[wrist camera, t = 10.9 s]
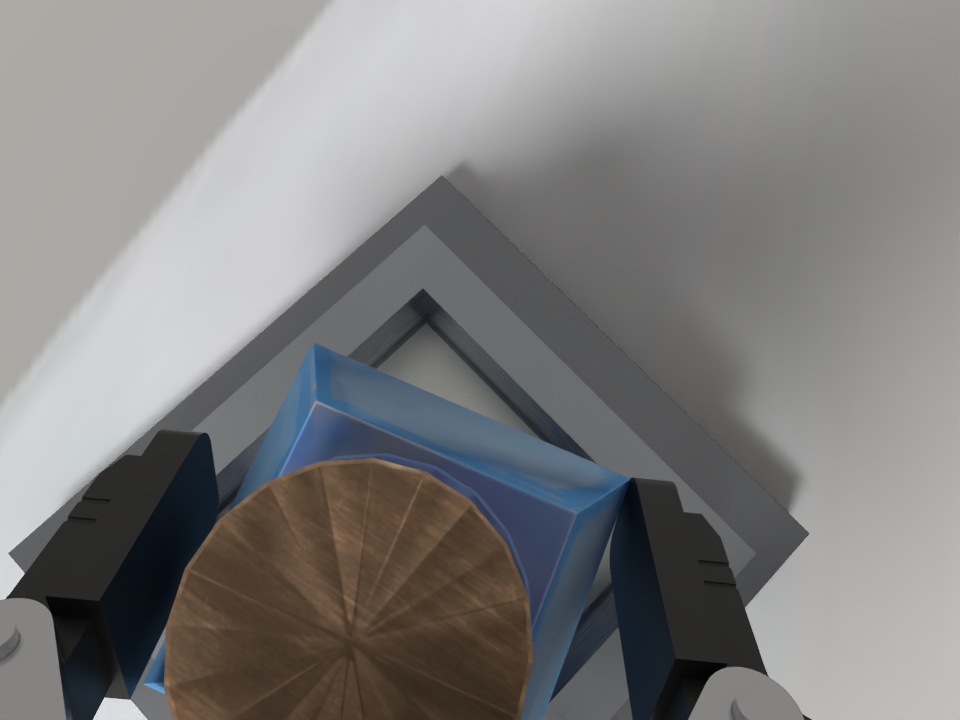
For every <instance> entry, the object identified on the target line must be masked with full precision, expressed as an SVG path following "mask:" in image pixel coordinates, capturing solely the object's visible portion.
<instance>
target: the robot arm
mask: <svg viewBox="0 0 960 720" xmlns="http://www.w3.org/2000/svg"><path fill="white" fill-rule="evenodd" d="M218 506H219V493H218V486H217V479H216V473H215V466H214V459H213V452H212V445H211V440H210V437H209V435H208V434H207V433H205V432H195V431H185V430H175V429H165V428H164V429H161V430H160V431H158V432H157V434H156V435H155V436H154V438H153V439H152V441H151V442H150V444H149V445H148V447H147V448H146V450H145V451H144V452H143V454H142V455H141V456H138V455H128V454H126V455H125V456H123V457H122V458H121V459H119V460H118V461H116V462H115V463H114V464H112V465H111V466H109V467H108V468H106V469H105V470H104V471H102V472H101V473H99V475H98V476H97V477H96V479H95V480H94V481H93V483H92V484H91V485H90V487H89V488H88V489H87V491H86V492H85V494H84V495H83V496H82V501H81V502H78V503H77V504H76V506H75V507H74V508H73V510H72V511H71V512H70V514H69V515H68V519H67V521H64V522H63V523H62V525H61V526H60V527H59V529H58V530H57V531H56V533H55V534H54V535H53V537H52V538H51V539H50V541H49V542H48V543H47V545H46V546H45V547H44V549H43V550H42V551H41V553H40V554H39V556H38V557H37V558H36V560H35V561H34V562H33V564H32V565H31V566H30V568H29V569H28V570H27V572H26V573H25V574H24V576H23V577H22V578H21V580H20V581H19V583H18V584H17V585H16V587H15V588H14V589H13V591H12V592H11V593H10V594H9V596H8V597H7V598H6V599H5V600H0V720H93V718H94V716H95V714H96V712H97V710H98V708H99V706H100V704H101V703H102V701H103V699H104V697H107V698H118V699H129V700H130V699H131V697H132V694H133V692H134V690H135V688H136V686H137V684H138V682H139V680H140V678H141V676H142V674H143V672H144V670H145V668H146V666H147V664H148V662H149V660H150V658H151V655H152V653H153V651H154V649H155V647H156V645H157V643H158V641H159V639H160V637H161V635H162V633H163V631H164V629H165V627H166V624H167V621H168V618H169V615H170V612H171V609H172V606H173V603H174V600H175V597H176V594H177V591H178V588H179V585H180V582H181V579H182V576H183V573H184V570H185V568H186V566H187V565H188V563H189V562H190V561H191V559H192V558H193V556H194V555H195V553H196V552H197V551H198V549H199V548H200V546H201V545H202V543H203V542H204V541H205V539H206V538H207V536H208V535H209V533H210V532H211V530H212V529H213V528H214V525H215V522H216V518H217V513H218ZM610 573H611V580H612V586H613V593H614V600H615V606H616V613H617V619H618V626H619V633H620V639H621V646H622V653H623V659H624V666H625V672H626V679H627V686H628V692H629V699H630V706H631V712H632V719H633V720H811V719H810V718H808V717H806V716H805V715H803V714H802V712H801V711H800V709H799V707H798V705H797V704H796V702H795V701H794V700H793V698H792V697H791V696H790V695H789V693H788V692H787V691H786V690H785V689H784V688H783V687H781V686H780V685H779V684H778V683H777V682H775V681H774V680H772V679H771V678H770V677H769V676H768V674H767V672H766V669H765V667H764V664H763V661H762V658H761V655H760V652H759V649H758V646H757V643H756V640H755V637H754V634H753V631H752V628H751V626H750V623H749V620H748V617H747V614H746V611H745V608H744V605H743V602H742V599H741V596H740V593H739V590H738V589H736V581H735V578H734V575H733V572H732V569H731V568H729V561H728V558H727V555H726V552H725V549H724V546H723V543H722V540H721V537H720V536H719V535H718V533H717V532H716V531H715V530H714V529H713V527H712V526H711V525H710V524H709V522H708V521H707V520H706V519H705V518H704V516H703V515H702V514H698V513H688V512H684V511H683V508H682V504H681V501H680V497H679V494H678V490H677V487H676V485H675V483H674V482H672V481H663V480H653V479H643V478H634V477H632V478H630V481H629V485H628V489H627V492H626V495H625V497H624V500H623V503H622V506H621V508H620V511H619V514H618V517H617V521H616V524H615V527H614V531H613V534H612V539H611V545H610Z"/></svg>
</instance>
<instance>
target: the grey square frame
mask: <svg viewBox="0 0 960 720" xmlns="http://www.w3.org/2000/svg"><path fill="white" fill-rule="evenodd" d="M313 342H314V343H316V344H319V345H321V346H323V347H325V348H328V349H330V350H332V351H335V352H337V353H339V354H342V355H344V356H346V357H349V358H351V359H353V360H356V361H358V362H360V363H363V364H365V365H367V366H370V367H372V368H374V369H377V370H379V371H381V372H384V373H386V374H388V375H391V376H393V377H395V378H398V379H400V380H402V381H405V382H407V383H409V384H412V385H414V386H416V387H419V388H421V389H423V390H426V391H428V392H430V393H433V394H435V395H437V396H440V397H442V398H444V399H447V400H449V401H451V402H454V403H456V404H458V405H461V406H463V407H465V408H468V409H470V410H472V411H475V412H477V413H479V414H482V415H484V416H486V417H489V418H491V419H493V420H495V421H498V422H500V423H502V424H505V425H507V426H509V427H512V428H514V429H516V430H519V431H521V432H523V433H526V434H528V435H530V436H533V437H535V438H537V439H540V440H542V441H544V442H547V443H549V444H551V445H554V446H556V447H558V448H561V449H563V450H565V451H568V452H570V453H572V454H575V455H577V456H579V457H582V458H584V459H586V460H589V461H591V462H593V463H596V464H598V465H600V466H603V467H605V468H607V469H610V470H612V471H614V472H617V473H619V474H621V475H624V476H626V477H628V478H632V477H634V478H643V479H653V480H663V481H672V482H674V483H675V485H676V487H677V490H678V494H679V497H680V501H681V504H682V508H683V511H684V512H688V513H698V514H702V515H703V516H704V518H705V519H706V520H707V521H708V522H709V524H710V525H711V526H712V527H713V529H714V530H715V531H716V532H717V533H718V535H719V536H720V537H721V540H722V543H723V546H724V549H725V552H726V555H727V558H728V561H729V568H731V569H732V572H733V575H734V578H735V581H736V589H738V590H739V593H740V596H741V599H742V602H743V605H744V608H745V607H746V606H747V605H748V603H749V602H750V601H751V600H752V599H753V598H754V597H755V595H756V594H757V593H758V592H759V591H760V590H761V589H762V587H763V586H764V585H765V584H766V583H767V582H768V581H769V579H770V578H771V577H772V576H773V575H774V574H775V572H776V571H777V570H778V569H779V568H780V567H781V566H782V564H783V563H784V562H785V561H786V560H787V559H788V558H789V556H790V555H791V554H792V553H793V552H794V551H795V550H796V548H797V547H798V546H799V545H800V544H801V543H802V542H803V540H804V539H805V538H806V537H807V536H808V535H809V533H808V532H807V531H806V530H805V529H804V528H803V527H802V526H801V525H800V524H799V523H798V522H797V521H796V520H795V519H794V518H793V517H792V516H791V515H790V514H789V513H788V512H787V511H786V510H785V509H784V508H783V507H782V506H781V505H780V504H779V503H778V502H777V501H776V500H775V499H774V498H773V497H771V496H770V495H769V494H768V493H767V492H766V491H765V490H764V489H763V488H762V487H761V486H760V485H759V484H758V483H757V482H756V481H755V480H754V479H753V478H752V477H751V476H750V475H749V474H748V473H747V472H746V471H745V470H744V469H743V468H742V467H741V466H740V465H739V464H738V463H737V462H736V461H735V460H734V459H733V458H732V457H730V456H729V455H728V454H727V453H726V452H725V451H724V450H723V449H722V448H721V447H720V446H719V445H718V444H717V443H716V442H715V441H714V440H713V439H712V438H711V437H710V436H709V435H708V434H707V433H706V432H705V431H704V430H703V429H702V428H701V427H700V426H699V425H698V424H697V423H696V422H695V421H694V420H693V419H692V418H690V417H689V416H688V415H687V414H686V413H685V412H684V411H683V410H682V409H681V408H680V407H679V406H678V405H677V404H676V403H675V402H674V401H673V400H672V399H671V398H670V397H669V396H668V395H667V394H666V393H665V392H664V391H663V390H662V389H661V388H660V387H659V386H658V385H657V384H656V383H655V382H654V381H653V380H652V379H650V378H649V377H648V376H647V375H646V374H645V373H644V372H643V371H642V370H641V369H640V368H639V367H638V366H637V365H636V364H635V363H634V362H633V361H632V360H631V359H630V358H629V357H628V356H627V355H626V354H625V353H624V352H623V351H622V350H621V349H620V348H619V347H618V346H617V345H616V344H615V343H614V342H613V341H612V340H611V339H609V338H608V337H607V336H606V335H605V334H604V333H603V332H602V331H601V330H600V329H599V328H598V327H597V326H596V325H595V324H594V323H593V322H592V321H591V320H590V319H589V318H588V317H587V316H586V315H585V314H584V313H583V312H582V311H581V310H580V309H579V308H578V307H577V306H576V305H575V304H574V303H573V302H572V301H571V300H569V299H568V298H567V297H566V296H565V295H564V294H563V293H562V292H561V291H560V290H559V289H558V288H557V287H556V286H555V285H554V284H553V283H552V282H551V281H550V280H549V279H548V278H547V277H546V276H545V275H544V274H543V273H542V272H541V271H540V270H539V269H538V268H537V267H536V266H535V265H534V264H533V263H532V262H531V261H529V260H528V259H527V258H526V257H525V256H524V255H523V254H522V253H521V252H520V251H519V250H518V249H517V248H516V247H515V246H514V245H513V244H512V243H511V242H510V241H509V240H508V239H507V238H506V237H505V236H504V235H503V234H502V233H501V232H500V231H499V230H498V229H497V228H496V227H495V226H494V225H493V224H492V223H491V222H490V221H488V220H487V219H486V218H485V217H484V216H483V215H482V214H481V213H480V212H479V211H478V210H477V209H476V208H475V207H474V206H473V205H472V204H471V203H470V202H469V201H468V200H467V199H466V198H465V197H464V196H463V195H462V194H461V193H460V192H459V191H458V190H457V189H456V188H455V187H454V186H453V185H452V184H451V183H450V182H448V181H447V180H446V179H445V178H444V177H443V176H441V177H439V178H438V179H437V180H436V181H435V182H434V183H433V184H431V185H430V186H429V187H428V188H427V189H426V190H425V191H423V192H422V193H421V194H420V195H419V196H418V197H417V198H415V199H414V200H413V201H412V202H411V203H410V204H408V205H407V206H406V207H405V208H404V209H403V210H402V211H400V212H399V213H398V214H397V215H396V216H395V217H394V218H392V219H391V220H390V221H389V222H388V223H387V224H386V225H384V226H383V227H382V228H381V229H380V230H379V231H378V232H376V233H375V234H374V235H373V236H372V237H371V238H370V239H368V240H367V241H366V242H365V243H364V244H363V245H361V246H360V247H359V248H358V249H357V250H356V251H355V252H353V253H352V254H351V255H350V256H349V257H348V258H347V259H345V260H344V261H343V262H342V263H341V264H340V265H339V266H337V267H336V268H335V269H334V270H333V271H332V272H331V273H329V274H328V275H327V276H326V277H325V278H324V279H322V280H321V281H320V282H319V283H318V284H317V285H316V286H314V287H313V288H312V289H311V290H310V291H309V292H308V293H306V294H305V295H304V296H303V297H302V298H301V299H300V300H298V301H297V302H296V303H295V304H294V305H293V306H292V307H290V308H289V309H288V310H287V311H286V312H285V313H284V314H282V315H281V316H280V317H279V318H278V319H277V320H275V321H274V322H273V323H272V324H271V325H270V326H269V327H267V328H266V329H265V330H264V331H263V332H262V333H261V334H259V335H258V336H257V337H256V338H255V339H254V340H253V341H251V342H250V343H249V344H248V345H247V346H246V347H245V348H243V349H242V350H241V351H240V352H239V353H238V354H236V355H235V356H234V357H233V358H232V359H231V360H230V361H228V362H227V363H226V364H225V365H224V366H223V367H222V368H220V369H219V370H218V371H217V372H216V373H215V374H214V375H212V376H211V377H210V378H209V379H208V380H207V381H206V382H204V383H203V384H202V385H201V386H200V387H199V388H197V389H196V390H195V391H194V392H193V393H192V394H191V395H189V396H188V397H187V398H186V399H185V400H184V401H183V402H181V403H180V404H179V405H178V406H177V407H176V408H175V409H173V410H172V411H171V412H170V413H169V414H168V415H167V416H165V417H164V418H163V419H162V420H161V421H160V422H159V423H157V424H156V425H155V426H154V427H153V428H152V429H150V430H149V431H148V432H147V433H146V434H145V435H144V436H142V437H141V438H140V439H139V440H138V441H137V442H136V443H134V444H133V445H132V446H131V447H130V448H129V449H128V450H126V451H125V452H124V453H123V454H122V455H121V456H120V457H118V458H117V459H116V460H115V461H114V462H113V463H111V464H110V465H109V466H111V465H112V464H114V463H115V462H116V461H118V460H119V459H121V458H122V457H123V456H125V455H126V454H128V455H138V456H141V455H142V454H143V452H144V451H145V450H146V448H147V447H148V445H149V444H150V442H151V441H152V439H153V438H154V436H155V435H156V434H157V432H158V431H160V430H161V429H164V428H165V429H175V430H185V431H195V432H205V433H207V434H208V435H209V437H210V440H211V445H212V452H213V459H214V466H215V473H216V479H217V486H218V493H219V506H218V513H217V518H216V522H215V525H216V523H217V522H218V520H219V519H220V518H221V517H223V516H224V515H225V514H226V513H228V511H229V509H230V507H231V505H232V503H233V501H234V499H235V497H236V495H237V493H238V491H239V489H240V487H241V485H242V483H243V481H244V479H245V477H246V475H247V473H248V471H249V469H250V467H251V465H252V463H253V461H254V459H255V457H256V455H257V453H258V451H259V449H260V447H261V445H262V443H263V441H264V439H265V437H266V435H267V433H268V431H269V429H270V427H271V425H272V423H273V421H274V419H275V417H276V415H277V413H278V411H279V409H280V407H281V405H282V403H283V401H284V399H285V397H286V395H287V393H288V391H289V389H290V387H291V385H292V383H293V381H294V379H295V377H296V375H297V373H298V371H299V369H300V367H301V365H302V363H303V361H304V359H305V357H306V355H307V353H308V351H309V349H310V347H311V345H312V343H313ZM109 466H108V467H109ZM108 467H107V468H108ZM103 471H104V470H103ZM95 479H96V477H95V478H94V479H93V480H92V481H91V482H90V483H89V484H87V485H86V486H85V487H84V488H83V489H82V490H81V491H79V492H78V493H77V494H76V495H75V496H74V497H73V498H71V499H70V500H69V501H68V502H67V503H66V504H64V505H63V506H62V507H61V508H60V509H59V510H58V511H56V512H55V513H54V514H53V515H52V516H51V517H50V518H48V519H47V520H46V521H45V522H44V523H43V524H42V525H40V526H39V527H38V528H37V529H36V530H35V531H34V532H32V533H31V534H30V535H29V536H28V537H27V538H25V539H24V540H23V541H22V542H21V543H20V544H19V545H17V546H16V547H15V548H14V549H13V550H12V551H11V552H9V555H10V556H11V557H12V558H13V559H14V561H15V562H16V563H17V564H18V565H19V567H20V568H21V569H22V570H23V571H24V573H26V572H27V570H28V569H29V568H30V566H31V565H32V564H33V562H34V561H35V560H36V558H37V557H38V556H39V554H40V553H41V551H42V550H43V549H44V547H45V546H46V545H47V543H48V542H49V541H50V539H51V538H52V537H53V535H54V534H55V533H56V531H57V530H58V529H59V527H60V526H61V525H62V523H63V522H64V521H67V519H68V515H69V514H70V512H71V511H72V510H73V508H74V507H75V506H76V504H77V503H78V502H81V501H82V496H83V495H84V494H85V492H86V491H87V489H88V488H89V487H90V485H91V484H92V483H93V481H94V480H95ZM617 517H618V516H617ZM616 521H617V519H616ZM615 524H616V522H615ZM215 525H214V526H215ZM614 527H615V525H614ZM614 527H613V530H612V533H611V535H610V538H609V541H608V544H607V546H606V549H605V552H604V554H603V557H602V560H601V563H600V565H599V568H598V571H597V573H596V576H595V579H594V582H593V584H592V587H591V590H590V592H589V595H588V598H587V601H586V603H585V606H584V609H583V611H582V614H581V617H580V620H579V622H578V625H577V628H576V630H575V633H574V636H573V639H572V641H571V644H570V647H569V649H568V652H567V655H566V657H565V660H564V663H563V666H562V668H561V671H560V674H559V676H558V679H557V682H556V685H555V687H554V690H553V693H552V695H551V698H550V701H549V704H548V706H547V709H546V712H545V714H544V717H543V720H633V719H632V712H631V706H630V699H629V692H628V686H627V679H626V672H625V666H624V659H623V653H622V646H621V639H620V633H619V626H618V619H617V613H616V606H615V600H614V593H613V586H612V580H611V573H610V545H611V539H612V534H613V531H614ZM165 634H166V627H165V629H164V631H163V633H162V635H161V637H160V639H159V641H158V643H157V645H156V647H155V649H154V651H153V653H152V655H151V658H150V660H149V662H148V664H147V666H146V668H145V670H144V672H143V674H142V676H141V678H140V680H139V682H138V684H137V686H136V688H135V690H134V692H133V694H132V697H131V700H132V701H133V702H134V704H135V705H136V706H137V707H138V708H139V710H140V711H141V712H142V713H143V714H144V716H145V717H146V718H147V719H148V720H173V718H172V715H171V711H170V708H169V704H168V701H167V698H166V694H164V693H161V692H159V691H157V690H155V689H153V688H150V687H148V686H146V685H144V684H143V682H144V680H145V678H146V676H147V674H148V672H149V670H150V668H151V666H152V664H153V662H154V660H155V658H156V656H157V654H158V652H159V650H160V648H161V646H162V644H163V642H164V640H165Z"/></svg>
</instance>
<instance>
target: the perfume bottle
mask: <svg viewBox="0 0 960 720" xmlns="http://www.w3.org/2000/svg"><path fill="white" fill-rule="evenodd" d="M629 481H630V478H628V477H626V476H624V475H621V474H619V473H617V472H614V471H612V470H610V469H607V468H605V467H603V466H600V465H598V464H596V463H593V462H591V461H589V460H586V459H584V458H582V457H579V456H577V455H575V454H572V453H570V452H568V451H565V450H563V449H561V448H558V447H556V446H554V445H551V444H549V443H547V442H544V441H542V440H540V439H537V438H535V437H533V436H530V435H528V434H526V433H523V432H521V431H519V430H516V429H514V428H512V427H509V426H507V425H505V424H502V423H500V422H498V421H495V420H493V419H491V418H489V417H486V416H484V415H482V414H479V413H477V412H475V411H472V410H470V409H468V408H465V407H463V406H461V405H458V404H456V403H454V402H451V401H449V400H447V399H444V398H442V397H440V396H437V395H435V394H433V393H430V392H428V391H426V390H423V389H421V388H419V387H416V386H414V385H412V384H409V383H407V382H405V381H402V380H400V379H398V378H395V377H393V376H391V375H388V374H386V373H384V372H381V371H379V370H377V369H374V368H372V367H370V366H367V365H365V364H363V363H360V362H358V361H356V360H353V359H351V358H349V357H346V356H344V355H342V354H339V353H337V352H335V351H332V350H330V349H328V348H325V347H323V346H321V345H319V344H316V343H314V342H313V343H312V345H311V347H310V349H309V351H308V353H307V355H306V357H305V359H304V361H303V363H302V365H301V367H300V369H299V371H298V373H297V375H296V377H295V379H294V381H293V383H292V385H291V387H290V389H289V391H288V393H287V395H286V397H285V399H284V401H283V403H282V405H281V407H280V409H279V411H278V413H277V415H276V417H275V419H274V421H273V423H272V425H271V427H270V429H269V431H268V433H267V435H266V437H265V439H264V441H263V443H262V445H261V447H260V449H259V451H258V453H257V455H256V457H255V459H254V461H253V463H252V465H251V467H250V469H249V471H248V473H247V475H246V477H245V479H244V481H243V483H242V485H241V487H240V489H239V491H238V493H237V495H236V497H235V499H234V501H233V503H232V505H231V507H230V509H229V511H228V513H226V514H225V515H224V516H223V517H221V518H220V519H219V520H218V522H217V523H216V525H215V526H214V528H213V529H212V530H211V532H210V533H209V535H208V536H207V538H206V539H205V541H204V542H203V543H202V545H201V546H200V548H199V549H198V551H197V552H196V553H195V555H194V556H193V558H192V559H191V561H190V562H189V563H188V565H187V566H186V568H185V570H184V573H183V576H182V579H181V582H180V585H179V588H178V591H177V594H176V597H175V600H174V603H173V606H172V609H171V612H170V615H169V618H168V621H167V624H166V634H165V640H164V642H163V644H162V646H161V648H160V650H159V652H158V654H157V656H156V658H155V660H154V662H153V664H152V666H151V668H150V670H149V672H148V674H147V676H146V678H145V680H144V682H143V684H144V685H146V686H148V687H150V688H153V689H155V690H157V691H159V692H161V693H164V694H166V698H167V701H168V704H169V708H170V711H171V715H172V718H173V720H543V717H544V714H545V712H546V709H547V706H548V704H549V701H550V698H551V695H552V693H553V690H554V687H555V685H556V682H557V679H558V676H559V674H560V671H561V668H562V666H563V663H564V660H565V657H566V655H567V652H568V649H569V647H570V644H571V641H572V639H573V636H574V633H575V630H576V628H577V625H578V622H579V620H580V617H581V614H582V611H583V609H584V606H585V603H586V601H587V598H588V595H589V592H590V590H591V587H592V584H593V582H594V579H595V576H596V573H597V571H598V568H599V565H600V563H601V560H602V557H603V554H604V552H605V549H606V546H607V544H608V541H609V538H610V535H611V533H612V530H613V527H614V525H615V522H616V519H617V516H618V514H619V511H620V508H621V506H622V503H623V500H624V497H625V495H626V492H627V489H628V485H629Z"/></svg>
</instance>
